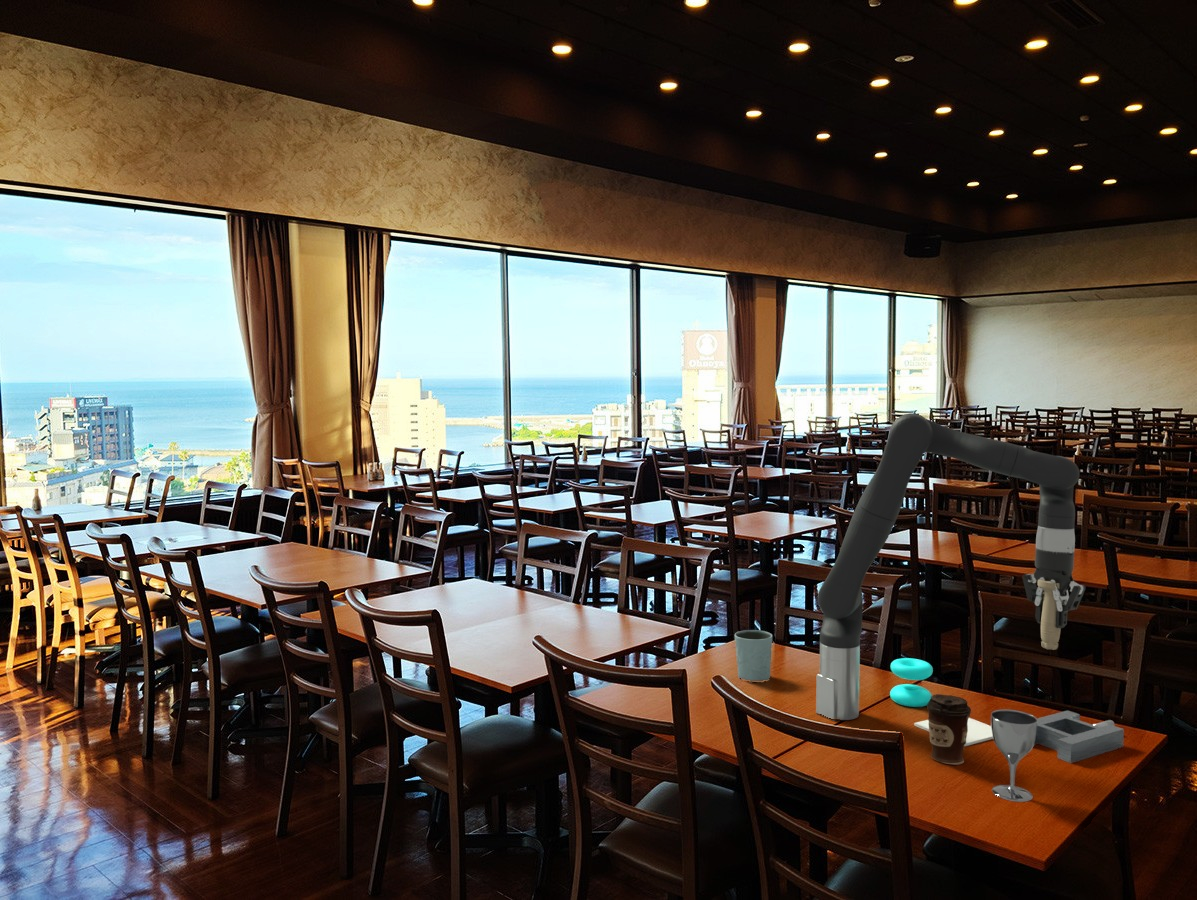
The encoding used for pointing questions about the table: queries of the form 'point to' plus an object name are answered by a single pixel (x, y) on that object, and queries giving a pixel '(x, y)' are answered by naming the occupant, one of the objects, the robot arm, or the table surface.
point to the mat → (974, 734)
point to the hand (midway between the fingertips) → (1050, 624)
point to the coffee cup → (948, 727)
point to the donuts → (909, 692)
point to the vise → (1077, 736)
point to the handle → (1049, 616)
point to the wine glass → (1013, 747)
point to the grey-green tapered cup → (753, 654)
